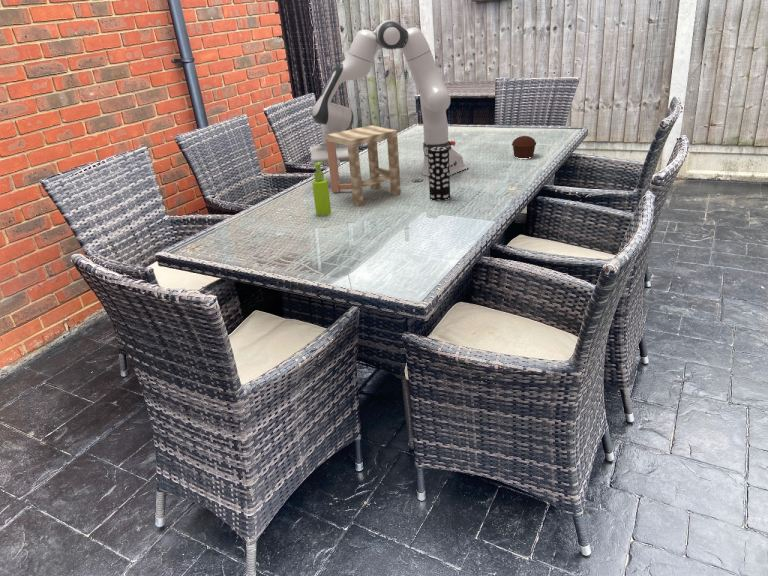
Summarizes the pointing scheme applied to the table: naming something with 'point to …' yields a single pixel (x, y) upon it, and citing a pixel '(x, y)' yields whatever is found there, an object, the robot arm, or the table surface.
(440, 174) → the spotted tube
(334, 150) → the hinged leg
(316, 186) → the soap dispenser
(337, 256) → the table surface
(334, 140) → the stool
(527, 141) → the muffin
